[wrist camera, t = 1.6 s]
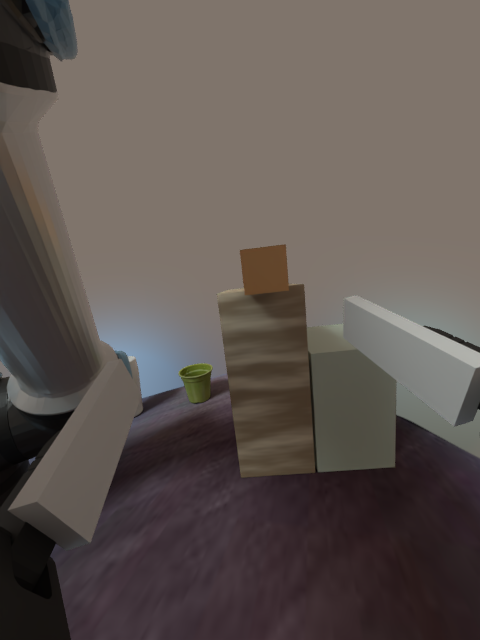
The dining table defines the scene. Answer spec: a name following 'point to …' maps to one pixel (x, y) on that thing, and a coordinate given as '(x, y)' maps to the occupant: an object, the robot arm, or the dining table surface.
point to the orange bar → (264, 269)
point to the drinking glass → (136, 382)
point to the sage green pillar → (349, 404)
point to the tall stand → (269, 380)
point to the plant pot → (197, 381)
